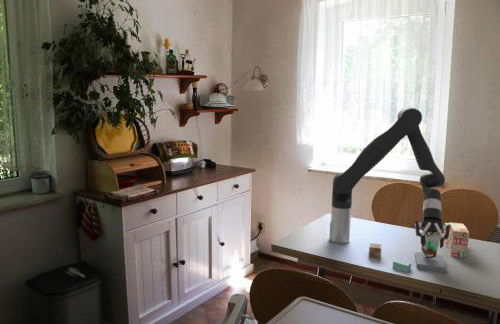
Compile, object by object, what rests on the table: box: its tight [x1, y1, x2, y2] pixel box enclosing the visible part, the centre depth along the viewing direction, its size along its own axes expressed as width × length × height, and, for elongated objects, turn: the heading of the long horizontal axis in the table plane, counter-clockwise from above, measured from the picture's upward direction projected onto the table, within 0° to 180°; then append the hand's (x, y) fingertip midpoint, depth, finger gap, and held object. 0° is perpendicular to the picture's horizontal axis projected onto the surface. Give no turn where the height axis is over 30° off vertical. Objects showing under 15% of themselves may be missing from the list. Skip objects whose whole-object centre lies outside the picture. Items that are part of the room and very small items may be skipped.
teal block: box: [392, 258, 412, 273], centre depth 171 cm, size 6×4×3 cm, turn 50°
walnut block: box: [368, 242, 382, 260], centre depth 183 cm, size 5×5×5 cm
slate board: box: [414, 251, 447, 273], centre depth 176 cm, size 11×14×2 cm
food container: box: [421, 227, 441, 258], centre depth 175 cm, size 12×6×10 cm, turn 168°
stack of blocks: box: [443, 222, 470, 259], centre depth 193 cm, size 21×6×12 cm, turn 164°
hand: (432, 246), depth 173 cm, fingers closed on food container, 6 cm apart
